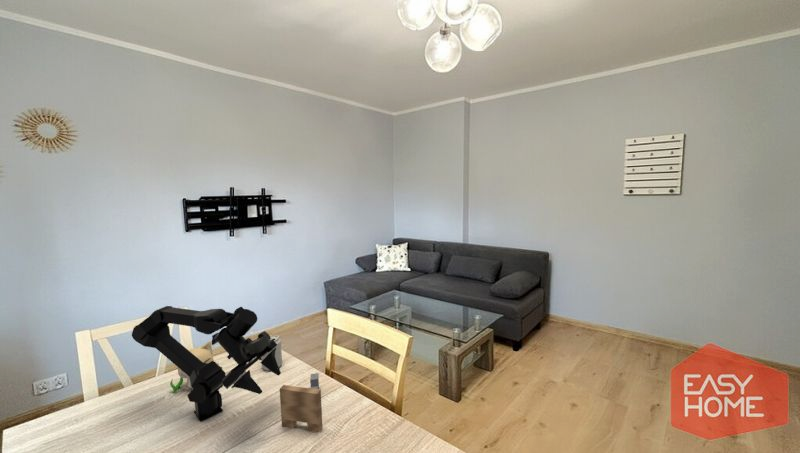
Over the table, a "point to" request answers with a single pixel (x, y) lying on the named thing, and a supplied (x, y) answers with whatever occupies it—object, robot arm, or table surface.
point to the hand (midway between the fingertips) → (270, 383)
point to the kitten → (203, 355)
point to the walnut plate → (301, 407)
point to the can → (276, 351)
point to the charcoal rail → (314, 381)
